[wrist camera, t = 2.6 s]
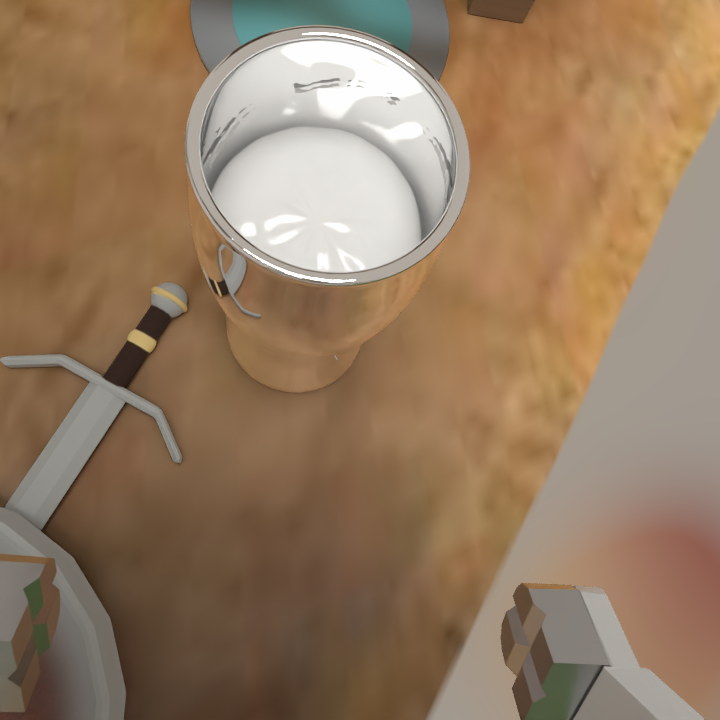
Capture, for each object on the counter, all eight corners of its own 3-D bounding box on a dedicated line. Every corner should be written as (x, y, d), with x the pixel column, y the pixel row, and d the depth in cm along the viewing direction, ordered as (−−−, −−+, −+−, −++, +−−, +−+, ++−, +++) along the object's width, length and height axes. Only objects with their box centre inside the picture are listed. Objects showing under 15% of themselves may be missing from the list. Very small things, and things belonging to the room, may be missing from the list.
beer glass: (199, 385, 28) (137, 254, 14) (235, 238, 30) (215, -19, 15) (357, 417, 29) (457, 325, 14) (383, 271, 30) (497, 58, 16)
